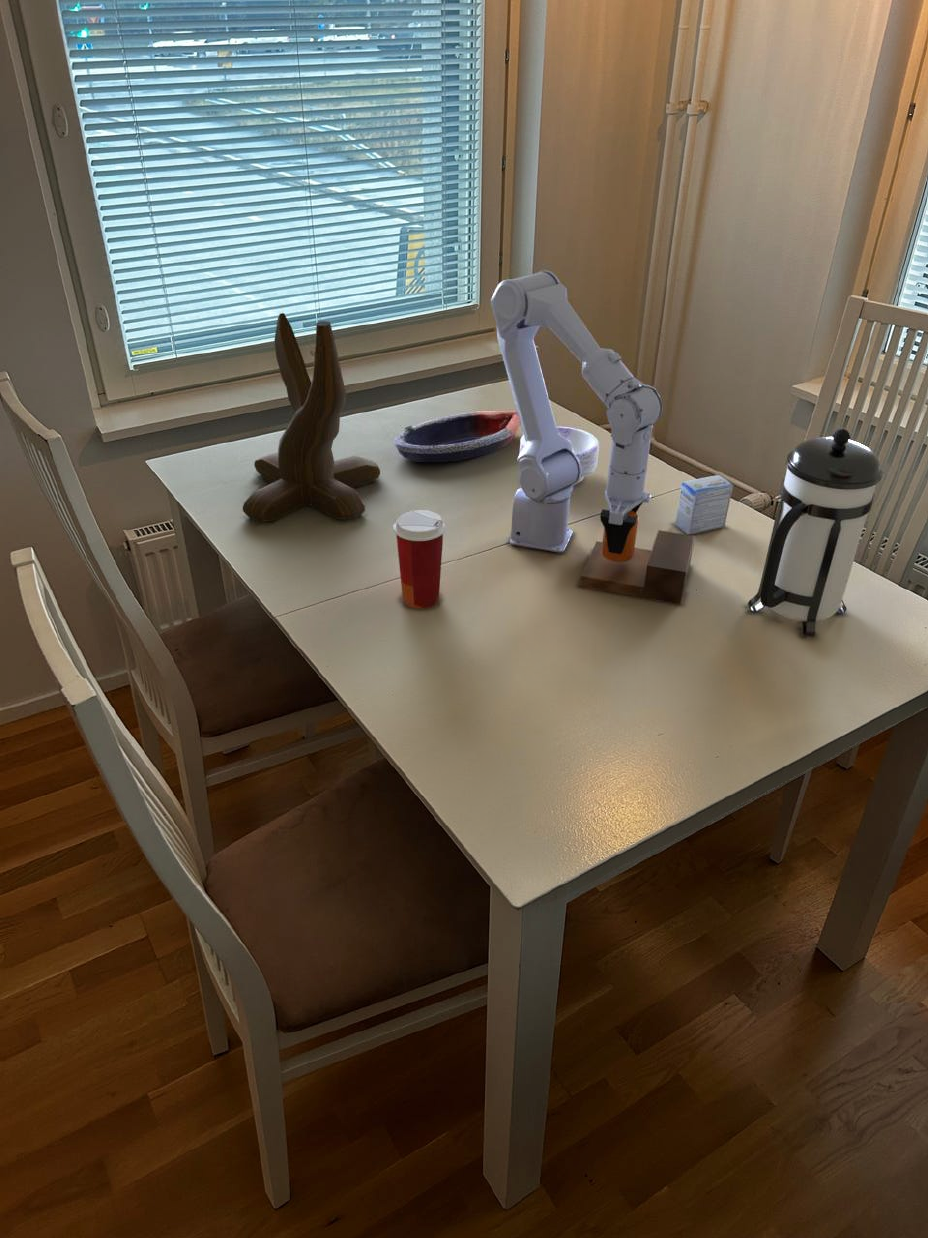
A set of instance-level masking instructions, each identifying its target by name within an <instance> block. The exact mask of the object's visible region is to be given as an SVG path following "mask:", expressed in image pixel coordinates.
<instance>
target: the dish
mask: <svg viewBox="0 0 928 1238" xmlns="http://www.w3.org/2000/svg"><path fill="white" fill-rule="evenodd" d="M520 427H522V426H521V423H520V419H519V415H518V412H517V411H506V410H505V411H503V410H488V411H487V410H483V411H481V410H480V411H470V412H462V413H456V414H451V415H446V416H442V417H438V418H434V419H431V420H427V421H424V422H421V423H418V424H415V425H407V426H406V427H405V428H404V429H403V430H402V431H401V432H400V433H398V435H397V436H396V438H395V439H394V447H395V448H396V449H397V451H398V453H399V454H400V455H401V456H402V457H403V458H404V459H406V460H408V461H411V462H418V463H445V462H446V463H447V462H456V461H462V460H468V459H472V458H476V457H480V456H483V455H486V454H489V453H492V452H494V451H497V450H500V449H502V448H504V447H505V446H507V445H508V444H509V443H510V442H511V441H512V440H513V439H514V437H515V435H516V434H517V432H518V431H519V429H520Z"/></svg>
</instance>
